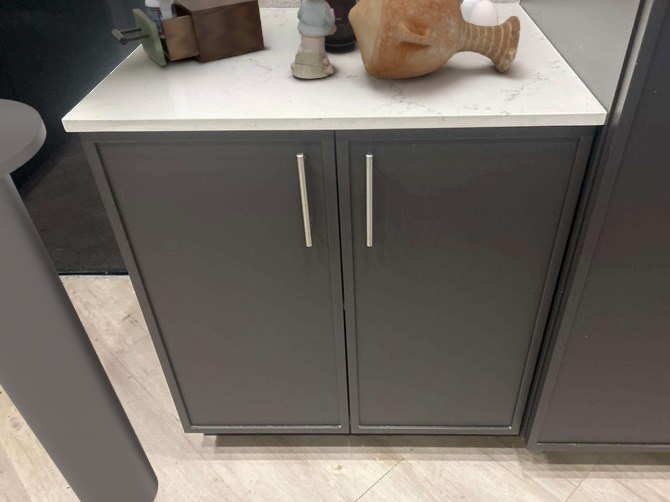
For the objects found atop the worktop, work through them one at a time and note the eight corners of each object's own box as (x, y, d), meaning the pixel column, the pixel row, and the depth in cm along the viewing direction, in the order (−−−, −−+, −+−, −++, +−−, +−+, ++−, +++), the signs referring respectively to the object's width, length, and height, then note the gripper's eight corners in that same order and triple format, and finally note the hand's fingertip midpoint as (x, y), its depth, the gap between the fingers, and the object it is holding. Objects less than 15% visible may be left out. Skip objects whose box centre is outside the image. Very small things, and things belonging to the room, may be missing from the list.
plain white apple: (476, 28, 126) (480, -12, 121) (446, 24, 128) (448, -15, 123) (485, 19, 131) (489, -19, 126) (456, 16, 133) (459, -22, 128)
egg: (462, 36, 122) (465, -2, 117) (486, 32, 123) (490, -6, 119) (476, 45, 117) (480, 5, 112) (502, 41, 119) (507, 2, 114)
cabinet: (202, 63, 113) (191, 11, 106) (181, 45, 121) (170, -4, 115) (264, 49, 118) (258, -1, 112) (240, 33, 126) (233, -14, 120)
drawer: (131, 72, 107) (118, 29, 102) (115, 55, 114) (103, 14, 109) (221, 52, 114) (214, 11, 109) (201, 38, 122) (193, -2, 117)
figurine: (332, 82, 104) (324, -41, 91) (287, 80, 105) (273, -42, 92) (341, 64, 110) (335, -53, 98) (299, 63, 111) (287, -53, 99)
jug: (341, -11, 108) (492, 0, 113) (342, 90, 109) (491, 97, 114) (356, -69, 88) (538, -53, 93) (357, 55, 89) (536, 65, 94)
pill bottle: (166, 40, 109) (154, -10, 104) (147, 36, 112) (134, -13, 106) (186, 32, 113) (175, -17, 107) (167, 28, 115) (156, -20, 109)
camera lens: (318, 55, 115) (312, -27, 105) (319, 42, 121) (313, -37, 111) (358, 54, 115) (356, -29, 105) (357, 40, 121) (355, -39, 111)
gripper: (109, -74, 106) (130, 6, 115) (140, -57, 93) (162, 31, 102) (143, -78, 109) (161, 0, 118) (177, -61, 96) (195, 25, 105)
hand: (162, 15), depth 110 cm, fingers closed on pill bottle, 5 cm apart
